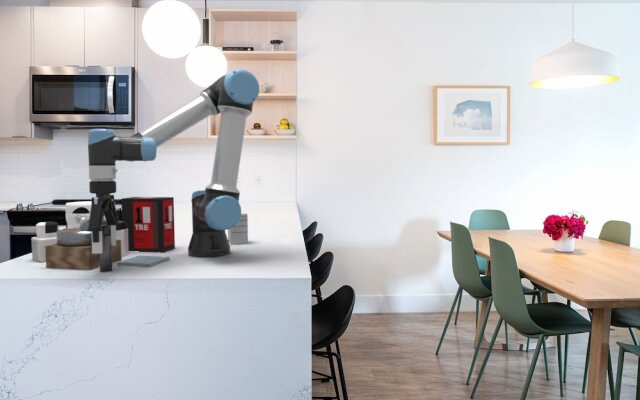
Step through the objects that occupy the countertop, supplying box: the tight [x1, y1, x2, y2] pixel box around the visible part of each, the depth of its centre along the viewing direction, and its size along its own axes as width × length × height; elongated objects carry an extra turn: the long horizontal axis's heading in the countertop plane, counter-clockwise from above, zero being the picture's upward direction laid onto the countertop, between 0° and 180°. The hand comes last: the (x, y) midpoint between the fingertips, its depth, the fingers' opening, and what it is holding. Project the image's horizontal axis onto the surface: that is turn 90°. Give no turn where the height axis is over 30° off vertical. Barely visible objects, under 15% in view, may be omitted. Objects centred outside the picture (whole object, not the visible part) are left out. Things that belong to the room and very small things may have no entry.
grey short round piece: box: [56, 217, 108, 246], centre depth 164 cm, size 16×16×8 cm
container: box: [30, 221, 59, 263], centre depth 172 cm, size 8×8×13 cm
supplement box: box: [227, 211, 249, 246], centre depth 205 cm, size 7×7×13 cm
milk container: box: [64, 200, 106, 228], centre depth 193 cm, size 17×17×18 cm
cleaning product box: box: [120, 196, 176, 254], centre depth 189 cm, size 16×9×20 cm, turn 80°
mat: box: [116, 255, 171, 268], centre depth 166 cm, size 12×12×1 cm
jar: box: [116, 220, 130, 257], centre depth 180 cm, size 9×8×12 cm
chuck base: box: [45, 240, 122, 271], centre depth 164 cm, size 16×16×7 cm
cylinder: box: [99, 225, 113, 273], centre depth 153 cm, size 4×4×14 cm
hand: (104, 249), depth 153 cm, fingers open, 13 cm apart
